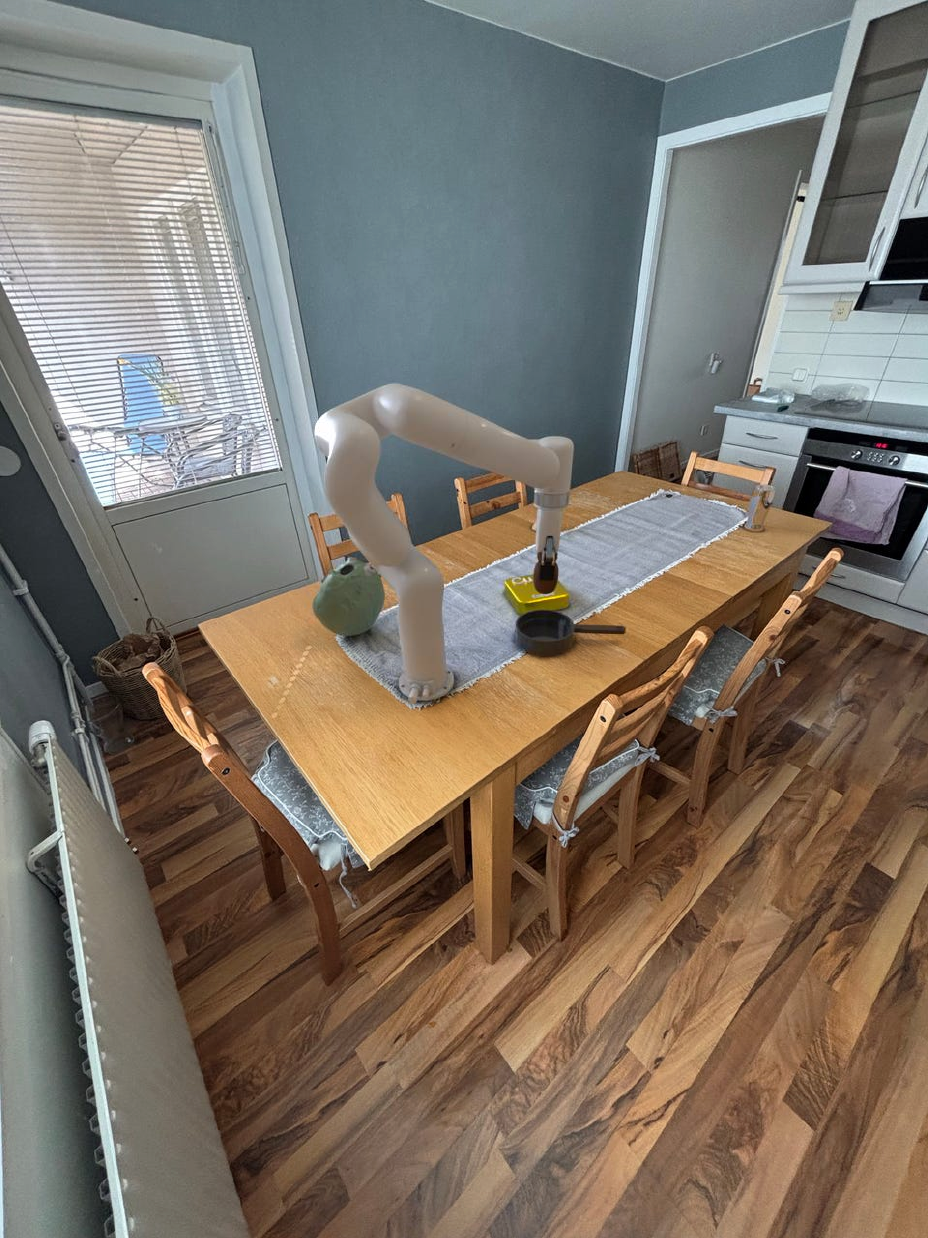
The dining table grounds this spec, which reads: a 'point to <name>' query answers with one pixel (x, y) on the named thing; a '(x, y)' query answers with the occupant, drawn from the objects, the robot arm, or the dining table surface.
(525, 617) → the pan
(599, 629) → the pan handle
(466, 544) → the dining table surface
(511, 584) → the element tile
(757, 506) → the beer glass
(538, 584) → the wooden figurine
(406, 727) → the dining table surface
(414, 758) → the dining table surface
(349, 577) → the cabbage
